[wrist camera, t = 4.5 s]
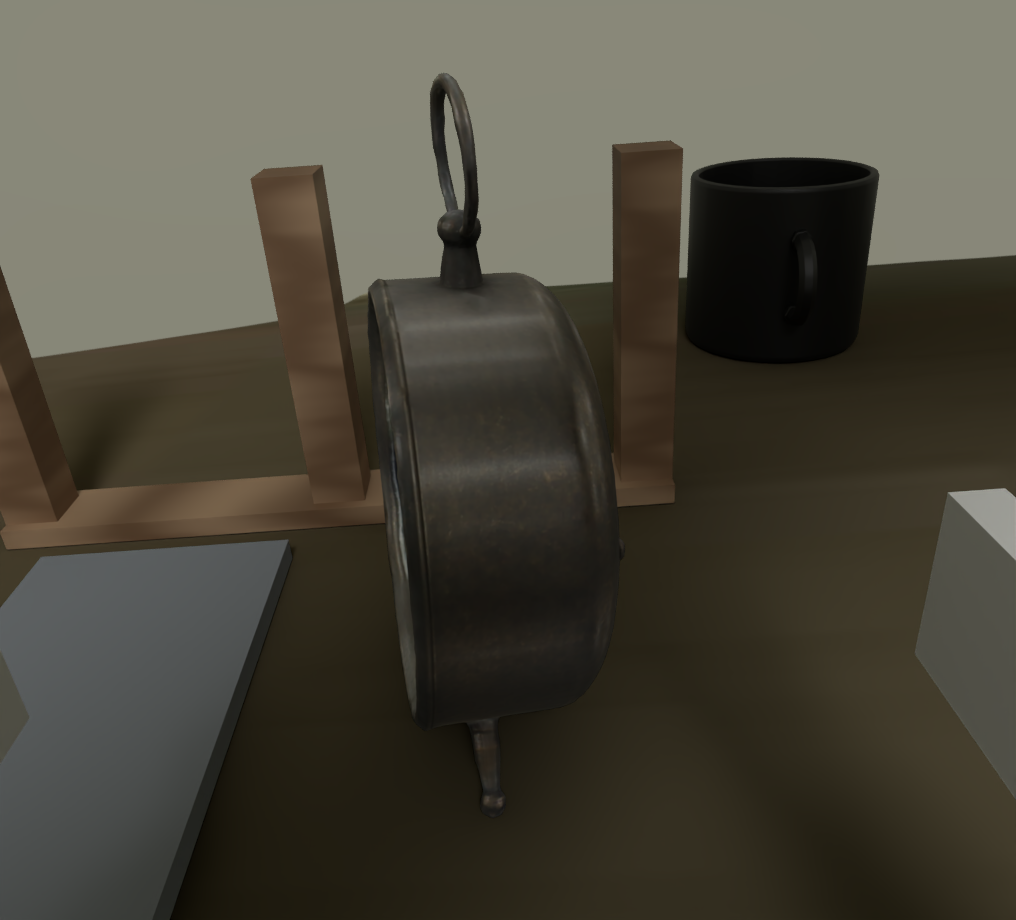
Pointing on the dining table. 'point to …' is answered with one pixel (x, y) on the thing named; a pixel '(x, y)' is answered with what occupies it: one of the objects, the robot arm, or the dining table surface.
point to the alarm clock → (490, 482)
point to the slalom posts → (349, 383)
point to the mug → (778, 256)
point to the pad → (124, 720)
